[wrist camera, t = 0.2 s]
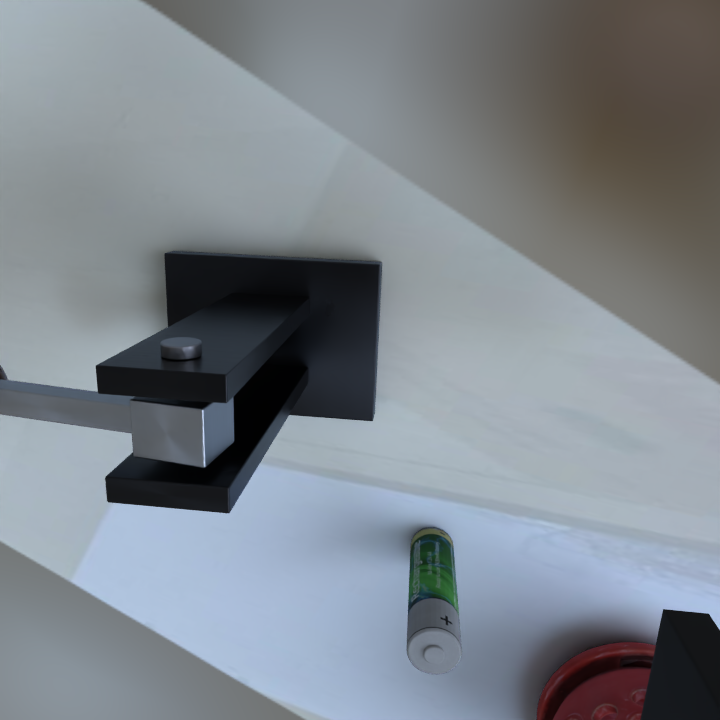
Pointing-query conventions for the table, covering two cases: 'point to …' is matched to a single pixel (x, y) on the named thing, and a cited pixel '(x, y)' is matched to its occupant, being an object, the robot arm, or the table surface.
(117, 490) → the lever bracket
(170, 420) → the flush lever
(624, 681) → the flower pot
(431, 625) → the battery
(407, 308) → the table surface
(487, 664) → the table surface
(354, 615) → the table surface
